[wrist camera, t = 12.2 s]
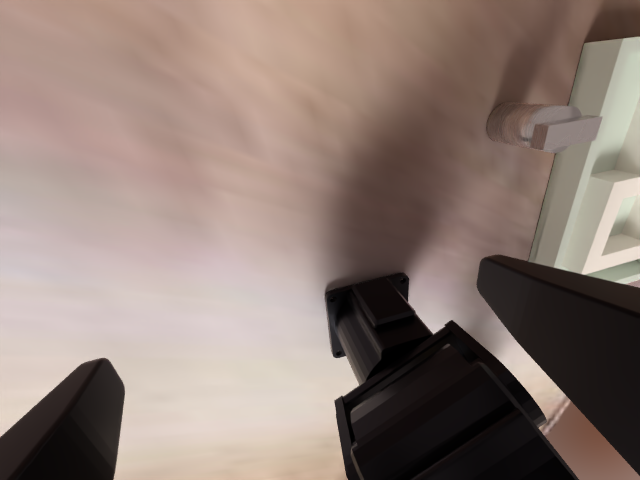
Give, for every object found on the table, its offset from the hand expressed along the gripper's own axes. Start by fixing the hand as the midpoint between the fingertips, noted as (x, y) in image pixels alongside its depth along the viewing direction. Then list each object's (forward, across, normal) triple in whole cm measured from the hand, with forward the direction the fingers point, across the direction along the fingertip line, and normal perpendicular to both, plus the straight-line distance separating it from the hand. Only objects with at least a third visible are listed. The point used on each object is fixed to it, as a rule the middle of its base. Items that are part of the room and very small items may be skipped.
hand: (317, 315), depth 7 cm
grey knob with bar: (+12, -16, -1) cm, 20 cm away
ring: (+11, -28, +5) cm, 31 cm away
